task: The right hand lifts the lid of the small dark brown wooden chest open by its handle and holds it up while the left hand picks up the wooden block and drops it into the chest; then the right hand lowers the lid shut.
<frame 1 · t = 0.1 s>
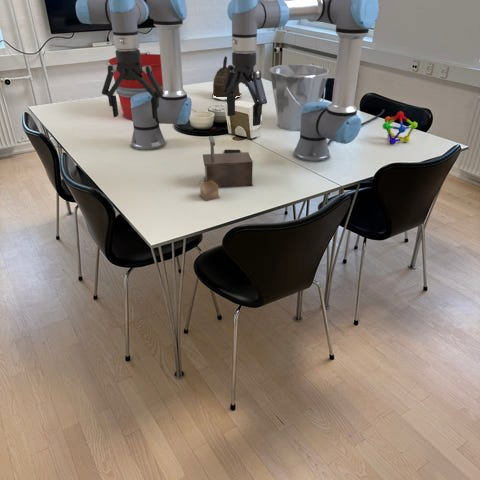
left hand: (135, 116, 150), 28 cm above the table, tool pointing down, fingers open, 13 cm apart
right hand: (243, 120, 147), 28 cm above the table, tool pointing down, fingers open, 13 cm apart
chest: (228, 181, 172), on the table
bucket: (295, 125, 233), on the table
block: (209, 196, 161), on the table
educational toy: (395, 143, 211), on the table
bell: (226, 97, 281), on the table
lid: (227, 149, 165), point 13 cm above the table, hinge at -0.1°
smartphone: (231, 157, 194), on the table
bucket 2: (145, 114, 249), on the table
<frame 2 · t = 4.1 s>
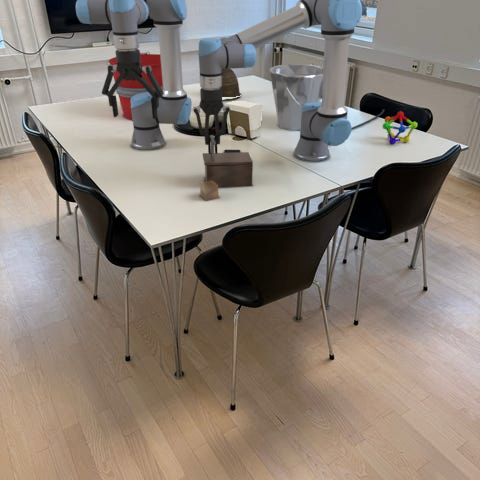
left hand: (135, 116, 150), 28 cm above the table, tool pointing down, fingers open, 13 cm apart
right hand: (212, 152, 165), 12 cm above the table, tool pointing down, fingers closed on lid, 2 cm apart
lid: (227, 148, 165), point 13 cm above the table, hinge at 1.4°, touching right hand
everything else where it was.
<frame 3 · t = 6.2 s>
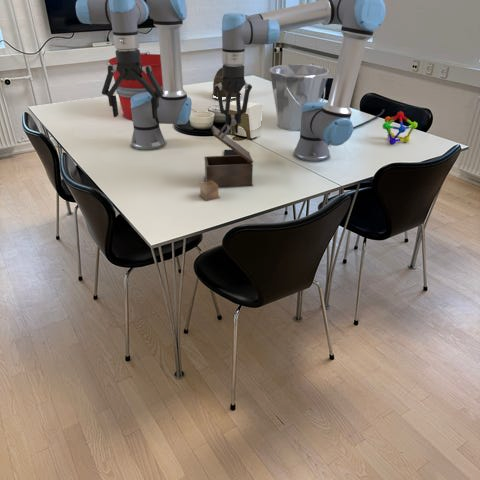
left hand: (135, 116, 150), 28 cm above the table, tool pointing down, fingers open, 13 cm apart
right hand: (232, 132, 162), 20 cm above the table, tool pointing down, fingers closed on lid, 2 cm apart
lid: (238, 136, 163), point 18 cm above the table, hinge at 38.9°, touching right hand
everything else where it was.
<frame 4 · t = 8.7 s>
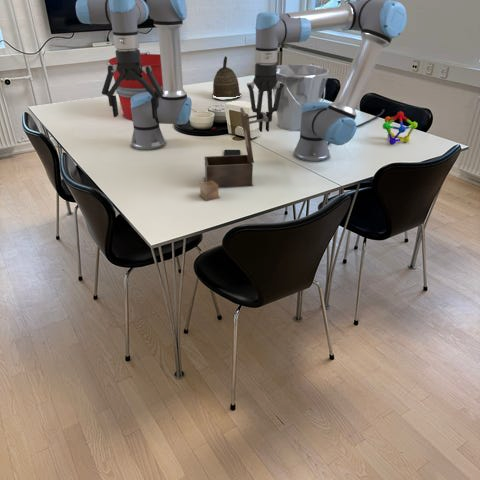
left hand: (135, 116, 150), 28 cm above the table, tool pointing down, fingers open, 13 cm apart
right hand: (263, 130, 164), 20 cm above the table, tool pointing down, fingers closed on lid, 2 cm apart
lid: (257, 133, 164), point 19 cm above the table, hinge at 80.5°, touching right hand
everything else where it was.
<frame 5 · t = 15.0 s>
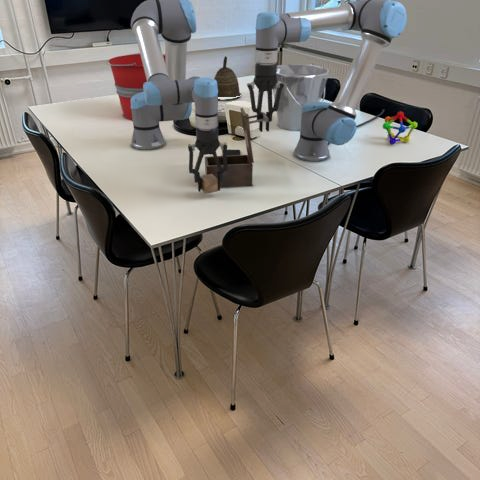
left hand: (209, 189, 160), 3 cm above the table, tool pointing down, fingers closed on block, 6 cm apart
right hand: (264, 130, 164), 20 cm above the table, tool pointing down, fingers closed on lid, 2 cm apart
block: (208, 190, 161), point 2 cm above the table, touching left hand
lid: (257, 133, 164), point 19 cm above the table, hinge at 80.9°, touching right hand
everything else where it was.
when the left hand's fingers open (15 cm above the table, at t = 18.3 s): block drops 14 cm, resting on chest.
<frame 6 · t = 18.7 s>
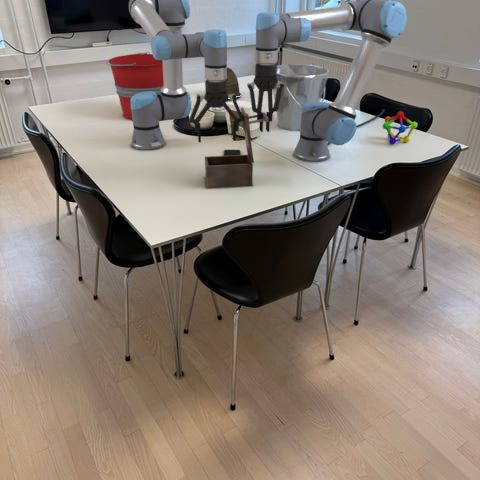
left hand: (217, 140, 163), 17 cm above the table, tool pointing down, fingers open, 12 cm apart
right hand: (264, 130, 164), 20 cm above the table, tool pointing down, fingers closed on lid, 2 cm apart
chest: (228, 181, 172), on the table, touching block
block: (218, 179, 172), point 1 cm above the table, touching chest
lid: (257, 133, 164), point 19 cm above the table, hinge at 81.1°, touching left hand, right hand
everything else where it was.
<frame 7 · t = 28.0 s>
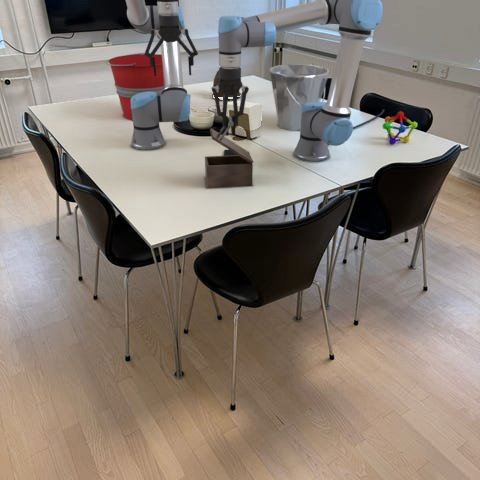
left hand: (172, 75, 174), 35 cm above the table, tool pointing down, fingers open, 13 cm apart
right hand: (230, 134, 163), 19 cm above the table, tool pointing down, fingers closed on lid, 2 cm apart
lid: (237, 137, 164), point 18 cm above the table, hinge at 34.7°, touching right hand
everything else where it was.
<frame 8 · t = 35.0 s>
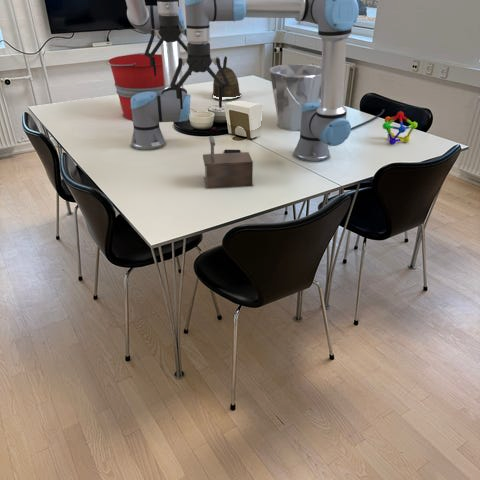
left hand: (172, 75, 174), 35 cm above the table, tool pointing down, fingers open, 13 cm apart
right hand: (201, 107, 156), 29 cm above the table, tool pointing down, fingers open, 13 cm apart
lid: (227, 149, 165), point 13 cm above the table, hinge at -0.1°
everything else where it was.
at the end: block inside the target area in the chest (4.0 cm from its centre), point 0.8 cm above the chest's base; lid at +0° (first picture: +0°); the left hand is holding nothing; the right hand is holding nothing; chest tilted 0°; chest moved 0.1 cm from its start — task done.
